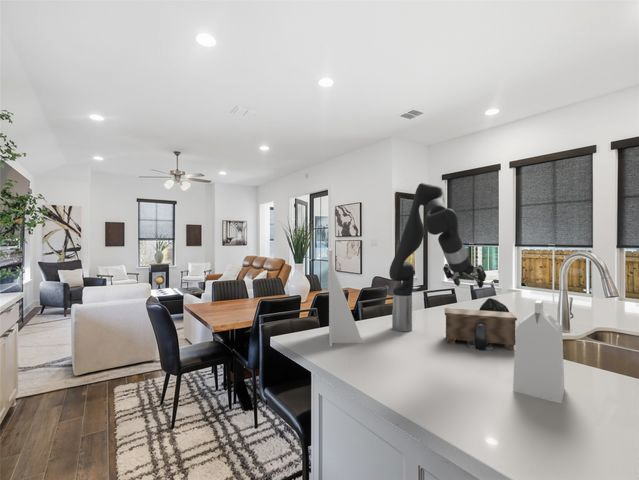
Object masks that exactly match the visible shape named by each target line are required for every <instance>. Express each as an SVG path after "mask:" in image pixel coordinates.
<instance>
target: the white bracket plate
mask: <svg viewBox="0 0 639 480" xmlns="http://www.w3.org/2000/svg"><path fill="white" fill-rule="evenodd" d="M328 250H329V253H328V255H329V257H328V258H329V259H328V261H329V262H328V263H329V264H328V266H329V267H328V270H329V271H328V276H329V277H328V311H329V312H328V338H329V347H333V344H364V343H363V339H362V338H361V335H360V332H359V330H358V327H357V324H356V322H355V319H354V318H355V317H354V316H353V314H352V311H351V309H350V306H349V303H348V300H347V298H346V296H345V291H343V288H342V285H341V282H340V280H339V277H338V275H337V272H336V269H335V266H334V264H333V249H331V248H328Z"/></svg>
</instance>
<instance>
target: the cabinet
mask: <svg viewBox="0 0 639 480" xmlns="http://www.w3.org/2000/svg"><path fill="white" fill-rule="evenodd" d="M444 315H445V339H446V340H447V344H451V345H455V344H456V340H461V341H467V340H468V341H475V323H482V324H486V342H489V343H491V344H499V345H500V344H501V345H504V346H503V347H504V349H505V350H511V351H515V340H516V321H518V317H517V316H515V314H514V313H513V312H510V311H509V312H496V311H481V310H478V309H476V310H475V309H465V308H464V309H463V308H448V307H444Z"/></svg>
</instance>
